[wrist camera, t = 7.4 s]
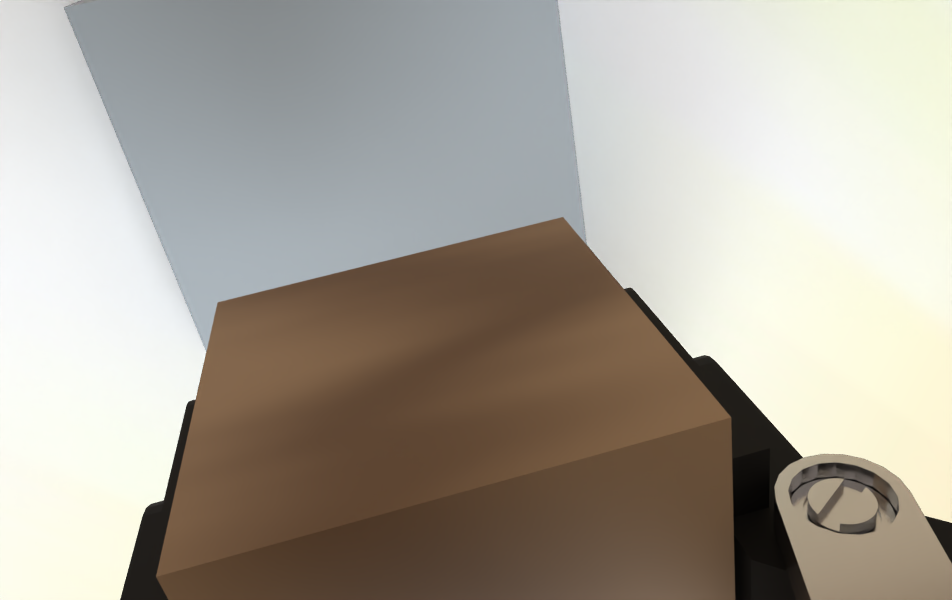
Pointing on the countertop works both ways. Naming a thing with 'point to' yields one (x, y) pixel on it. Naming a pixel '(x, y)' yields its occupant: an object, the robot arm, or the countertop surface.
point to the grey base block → (331, 129)
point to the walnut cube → (452, 439)
